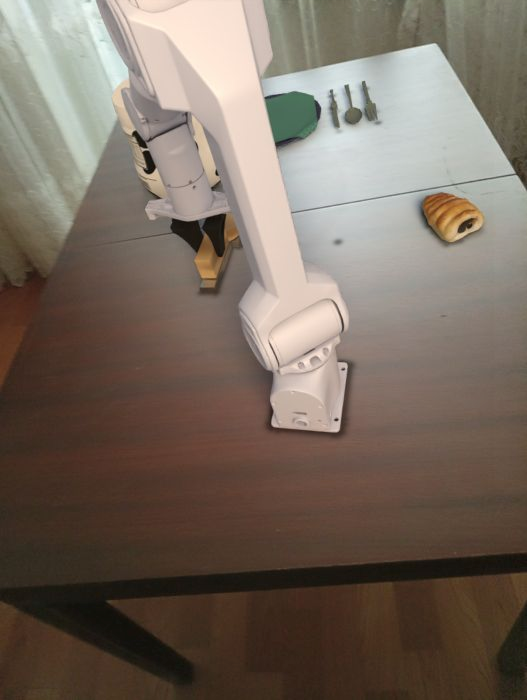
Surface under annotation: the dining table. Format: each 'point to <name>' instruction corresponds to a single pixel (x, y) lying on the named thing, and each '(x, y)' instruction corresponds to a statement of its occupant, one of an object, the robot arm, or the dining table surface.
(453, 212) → the pastry
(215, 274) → the disc with handle bar
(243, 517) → the dining table surface
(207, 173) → the milk container
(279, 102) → the cutlery set
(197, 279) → the dining table surface
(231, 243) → the grey-brown pronged block
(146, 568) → the dining table surface
